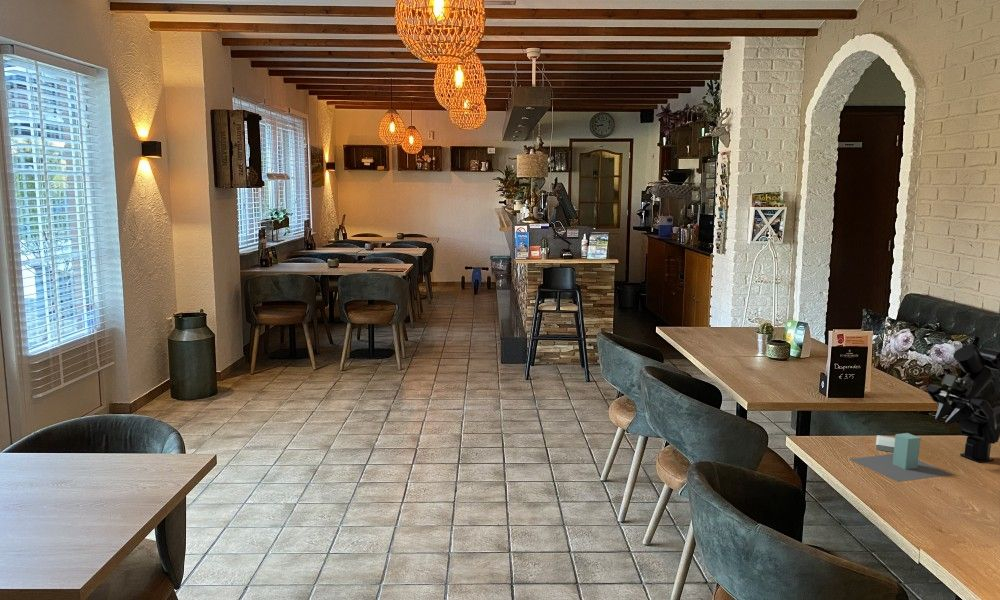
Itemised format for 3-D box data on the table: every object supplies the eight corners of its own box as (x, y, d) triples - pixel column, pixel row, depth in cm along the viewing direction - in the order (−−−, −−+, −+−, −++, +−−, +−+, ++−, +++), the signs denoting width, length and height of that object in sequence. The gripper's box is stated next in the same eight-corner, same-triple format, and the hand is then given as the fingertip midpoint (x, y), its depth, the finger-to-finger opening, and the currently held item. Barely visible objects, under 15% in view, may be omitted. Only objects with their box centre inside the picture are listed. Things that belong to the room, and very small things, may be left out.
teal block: (904, 462, 221) (907, 432, 220) (917, 467, 217) (920, 437, 215) (892, 463, 219) (895, 434, 218) (905, 469, 215) (908, 439, 214)
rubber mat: (900, 454, 229) (901, 452, 229) (952, 475, 212) (953, 474, 212) (848, 460, 223) (848, 459, 223) (897, 482, 206) (897, 481, 206)
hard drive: (905, 449, 228) (905, 438, 239) (875, 444, 231) (876, 434, 242) (905, 454, 228) (904, 443, 239) (875, 449, 232) (876, 439, 243)
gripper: (933, 358, 228) (901, 396, 226) (990, 372, 211) (956, 413, 209) (950, 382, 232) (919, 419, 230) (1008, 398, 214) (974, 438, 212)
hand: (941, 422), depth 220 cm, fingers open, 3 cm apart
